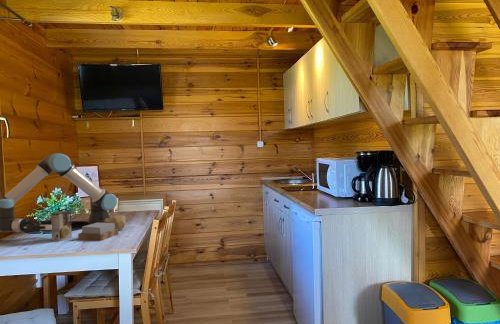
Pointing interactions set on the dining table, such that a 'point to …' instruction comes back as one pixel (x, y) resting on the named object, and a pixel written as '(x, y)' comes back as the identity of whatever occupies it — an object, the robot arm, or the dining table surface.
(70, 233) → the coffee box
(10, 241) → the dining table surface
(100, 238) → the walnut base block
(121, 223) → the low-poly potato
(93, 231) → the slate top block
